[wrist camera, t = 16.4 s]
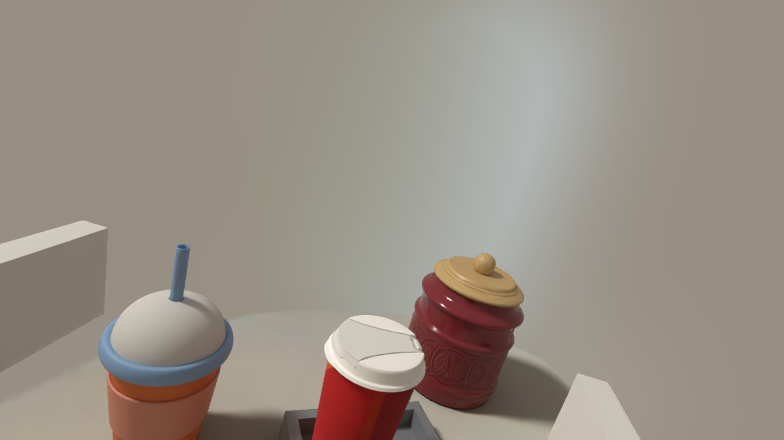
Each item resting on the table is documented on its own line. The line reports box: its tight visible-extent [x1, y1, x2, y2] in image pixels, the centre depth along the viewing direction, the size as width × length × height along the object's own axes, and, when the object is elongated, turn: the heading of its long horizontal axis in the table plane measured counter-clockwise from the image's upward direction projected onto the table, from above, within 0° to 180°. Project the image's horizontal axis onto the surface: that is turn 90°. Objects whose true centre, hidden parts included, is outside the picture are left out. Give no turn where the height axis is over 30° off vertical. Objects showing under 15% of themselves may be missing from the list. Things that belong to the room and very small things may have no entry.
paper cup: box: [312, 315, 426, 440], centre depth 32 cm, size 8×8×14 cm
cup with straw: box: [98, 244, 233, 440], centre depth 31 cm, size 9×9×18 cm
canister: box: [409, 253, 524, 409], centre depth 51 cm, size 13×13×18 cm
